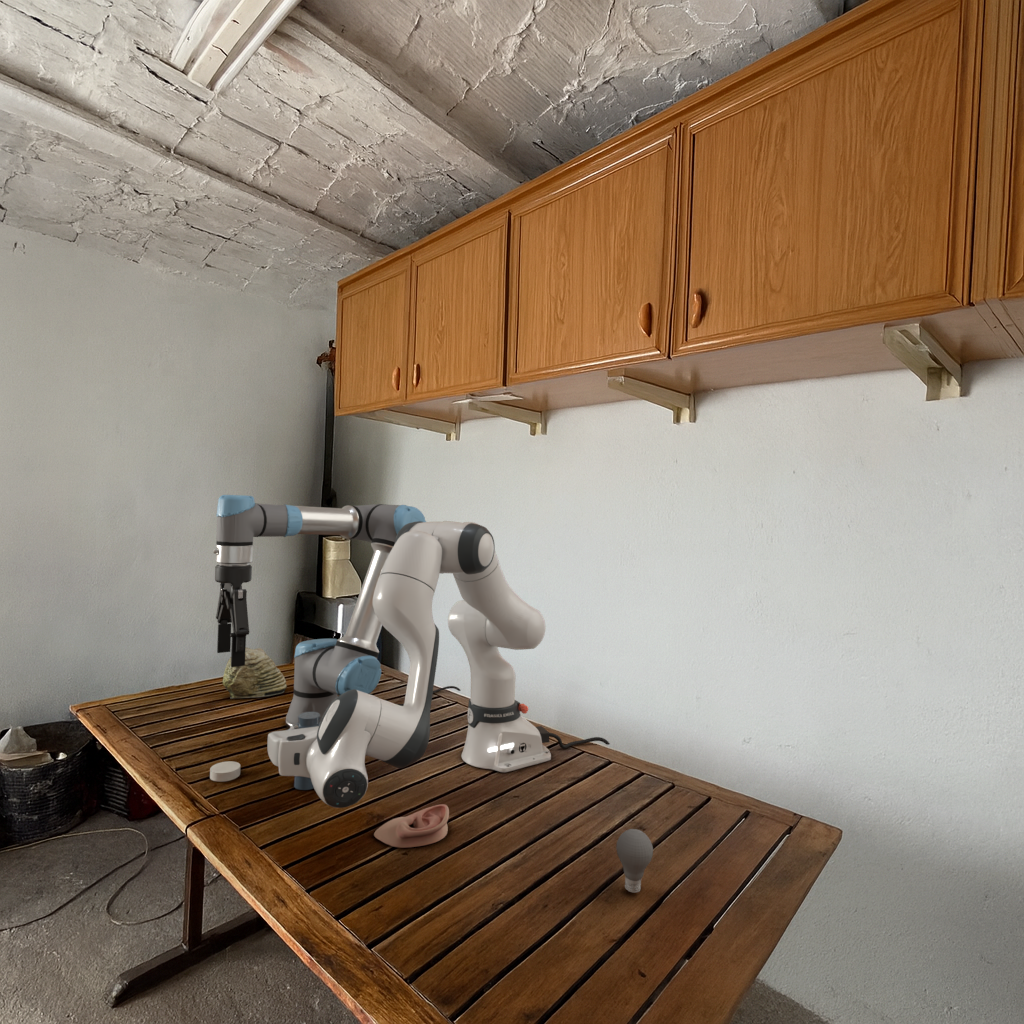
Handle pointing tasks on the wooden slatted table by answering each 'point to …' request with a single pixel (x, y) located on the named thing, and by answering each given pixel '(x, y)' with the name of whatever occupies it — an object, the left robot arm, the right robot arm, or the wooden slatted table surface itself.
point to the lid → (225, 771)
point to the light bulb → (634, 857)
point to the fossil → (254, 676)
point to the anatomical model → (416, 828)
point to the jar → (305, 722)
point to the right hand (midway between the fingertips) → (318, 725)
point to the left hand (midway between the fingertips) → (230, 658)
